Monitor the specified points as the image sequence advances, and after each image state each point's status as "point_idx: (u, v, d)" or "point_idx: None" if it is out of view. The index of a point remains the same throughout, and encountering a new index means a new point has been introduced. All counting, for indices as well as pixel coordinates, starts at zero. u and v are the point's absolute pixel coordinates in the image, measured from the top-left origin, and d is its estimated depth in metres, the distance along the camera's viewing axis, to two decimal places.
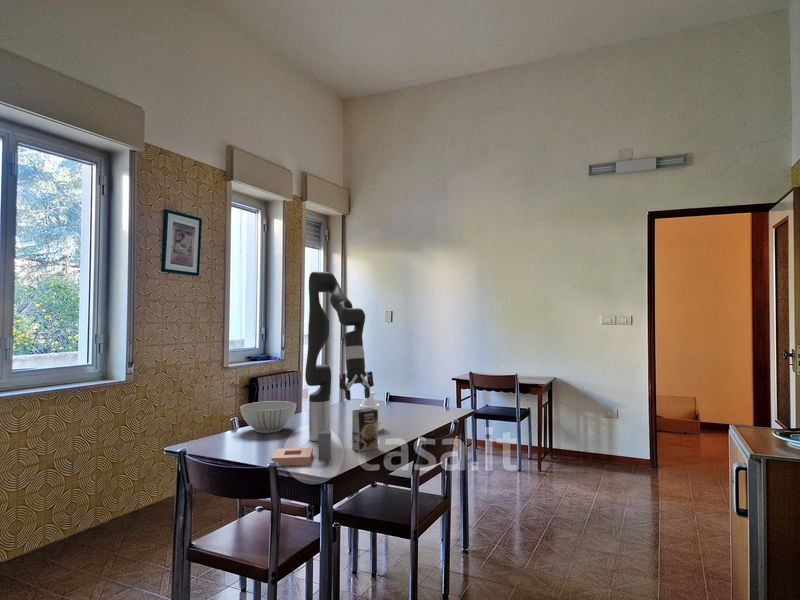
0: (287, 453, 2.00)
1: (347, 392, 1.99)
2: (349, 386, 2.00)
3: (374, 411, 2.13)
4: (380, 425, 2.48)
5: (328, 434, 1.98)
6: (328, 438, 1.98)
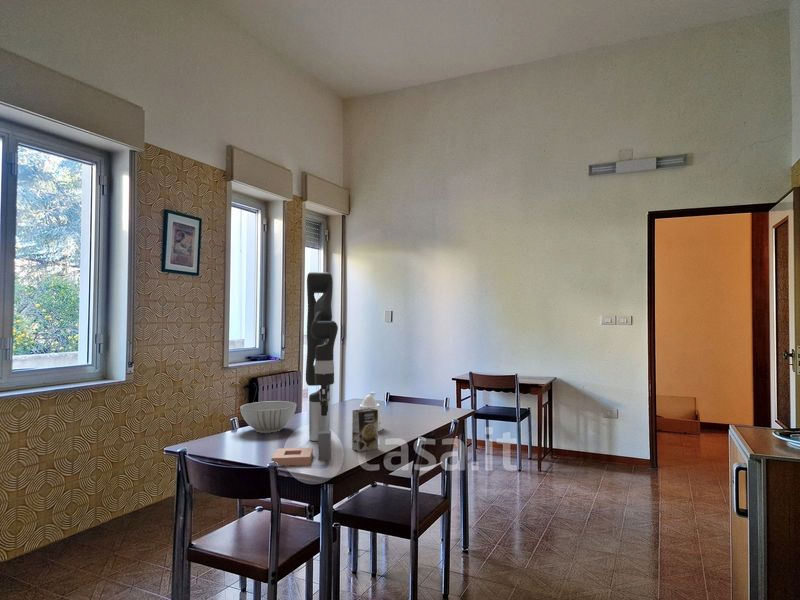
0: (287, 453, 2.00)
1: (325, 407, 1.96)
2: (327, 401, 1.97)
3: (374, 411, 2.13)
4: (380, 425, 2.48)
5: (328, 434, 1.98)
6: (328, 438, 1.98)
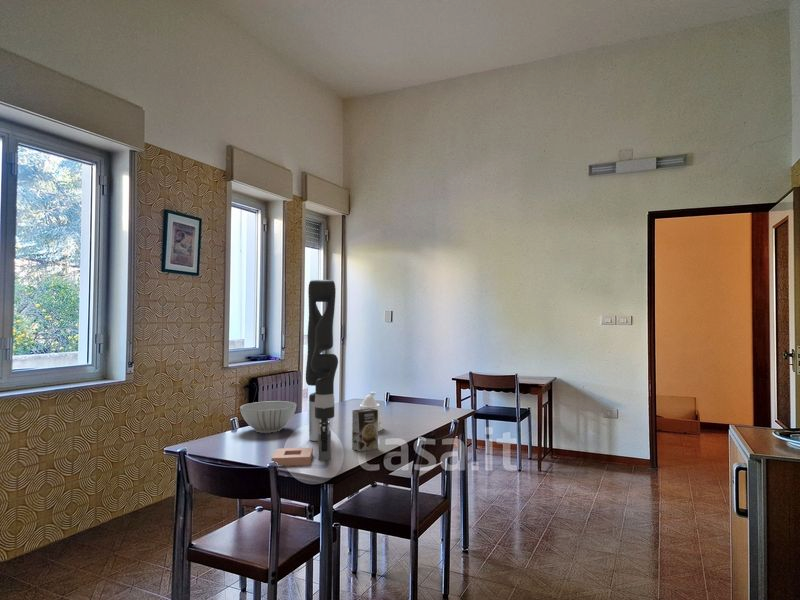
0: (287, 453, 2.00)
1: (326, 443, 1.97)
2: (327, 437, 1.98)
3: (374, 411, 2.13)
4: (380, 425, 2.48)
5: None
6: (328, 438, 1.98)
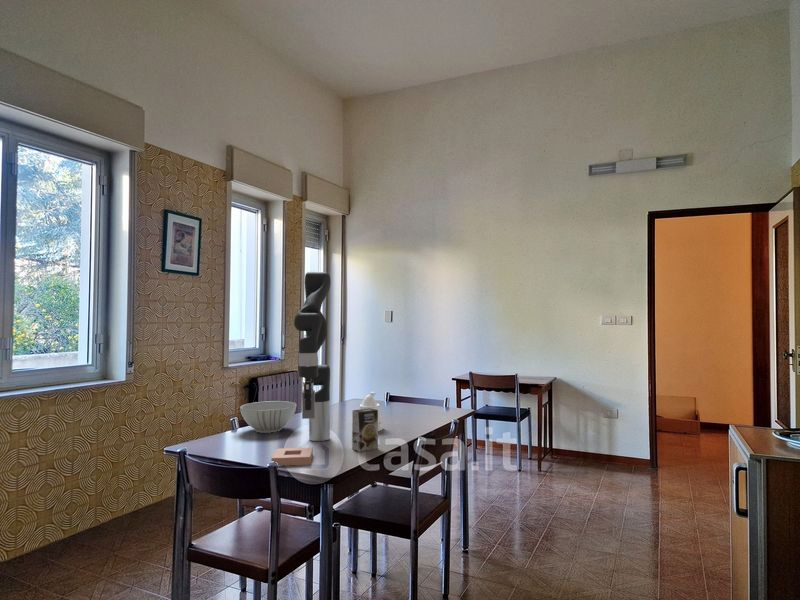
0: (287, 453, 2.00)
1: (309, 402, 1.96)
2: None
3: (374, 411, 2.13)
4: (380, 425, 2.48)
5: (312, 393, 1.97)
6: (312, 397, 1.97)
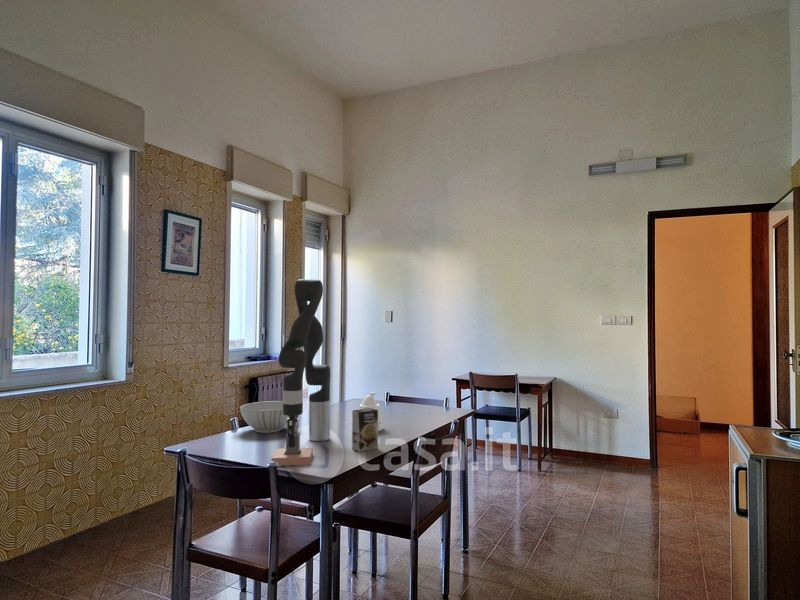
0: None
1: (293, 439, 1.92)
2: (294, 432, 1.93)
3: (374, 411, 2.13)
4: (380, 425, 2.48)
5: (296, 436, 1.95)
6: (296, 440, 1.95)
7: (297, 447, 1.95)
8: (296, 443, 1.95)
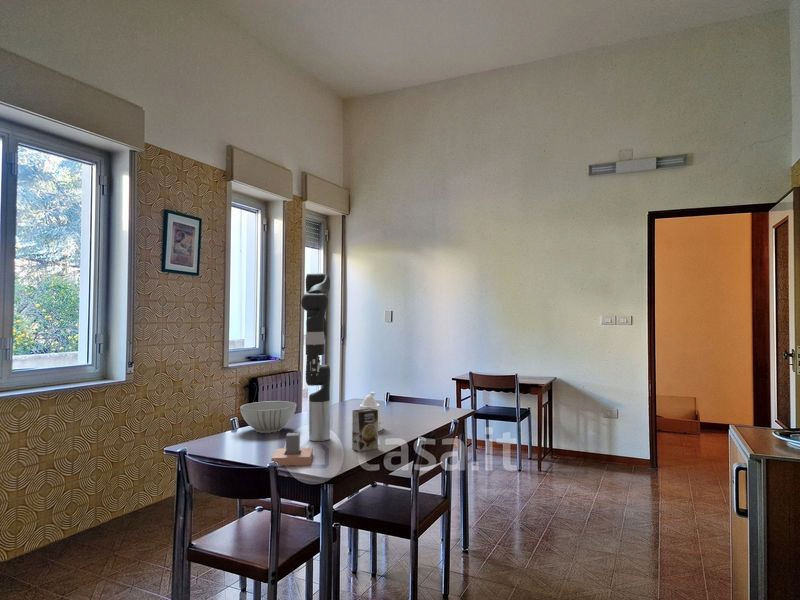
0: None
1: (316, 377, 2.02)
2: (317, 371, 2.02)
3: (374, 411, 2.13)
4: (380, 425, 2.48)
5: (296, 436, 1.95)
6: (296, 440, 1.95)
7: (297, 447, 1.95)
8: (296, 443, 1.95)
